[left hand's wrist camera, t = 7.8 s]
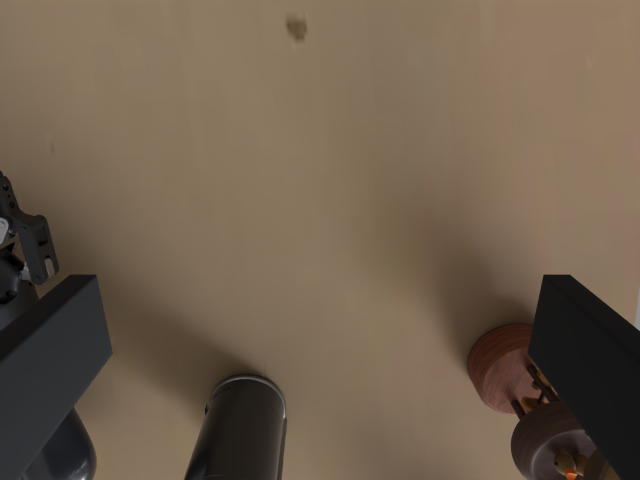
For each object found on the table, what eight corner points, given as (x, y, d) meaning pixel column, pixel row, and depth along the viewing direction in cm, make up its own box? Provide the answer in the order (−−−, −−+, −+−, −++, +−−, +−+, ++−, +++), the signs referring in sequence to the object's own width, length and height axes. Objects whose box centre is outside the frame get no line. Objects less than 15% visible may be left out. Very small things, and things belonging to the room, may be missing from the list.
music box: (473, 309, 49) (591, 451, 31) (563, 309, 50) (730, 446, 32) (452, 415, 55) (542, 591, 36) (534, 413, 56) (663, 583, 37)
